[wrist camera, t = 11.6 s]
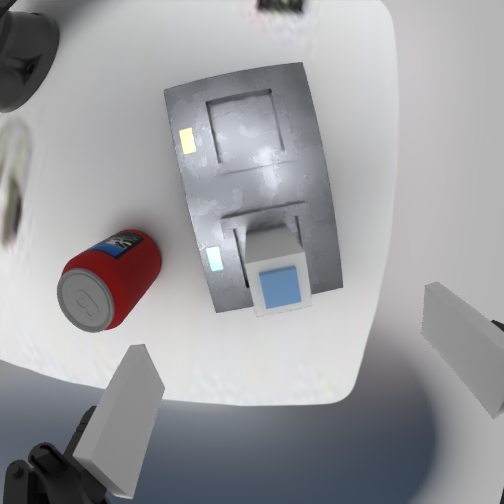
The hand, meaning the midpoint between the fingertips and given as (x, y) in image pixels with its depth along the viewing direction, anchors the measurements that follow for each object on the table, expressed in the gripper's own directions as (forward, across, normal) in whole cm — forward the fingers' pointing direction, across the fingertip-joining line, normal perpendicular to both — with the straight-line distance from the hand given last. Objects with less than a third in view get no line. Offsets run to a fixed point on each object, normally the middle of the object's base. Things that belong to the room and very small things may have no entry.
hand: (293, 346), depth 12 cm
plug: (+18, 0, -1) cm, 18 cm away
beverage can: (+19, -14, +1) cm, 24 cm away
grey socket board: (+19, 0, +5) cm, 20 cm away
